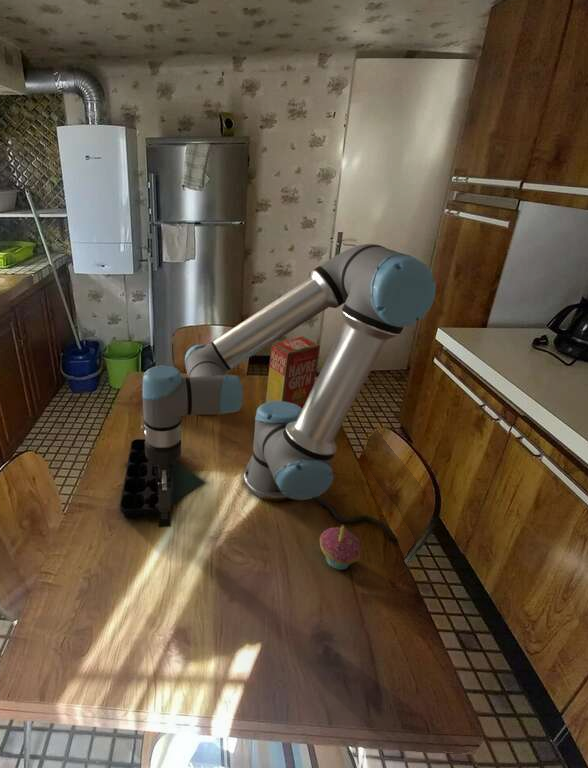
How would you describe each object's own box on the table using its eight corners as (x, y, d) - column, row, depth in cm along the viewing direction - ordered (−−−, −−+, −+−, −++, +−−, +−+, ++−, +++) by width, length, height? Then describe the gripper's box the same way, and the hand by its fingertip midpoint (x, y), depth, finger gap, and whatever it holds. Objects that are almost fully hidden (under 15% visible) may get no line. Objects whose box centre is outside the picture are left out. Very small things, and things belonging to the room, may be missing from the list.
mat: (204, 482, 115) (204, 482, 115) (173, 502, 109) (173, 502, 108) (157, 449, 128) (157, 448, 128) (126, 465, 122) (126, 464, 121)
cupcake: (351, 584, 88) (362, 541, 83) (311, 565, 92) (318, 523, 87) (362, 554, 95) (372, 513, 90) (323, 538, 99) (331, 497, 94)
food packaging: (280, 422, 142) (288, 352, 132) (263, 409, 150) (269, 341, 139) (311, 412, 148) (321, 344, 137) (293, 400, 156) (301, 335, 145)
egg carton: (122, 529, 100) (121, 516, 99) (113, 452, 127) (112, 441, 125) (195, 516, 104) (196, 504, 103) (172, 444, 130) (172, 433, 129)
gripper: (144, 422, 95) (148, 505, 105) (144, 459, 83) (148, 548, 93) (179, 420, 95) (179, 503, 106) (183, 457, 84) (183, 546, 94)
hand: (164, 524), depth 99 cm, fingers closed
